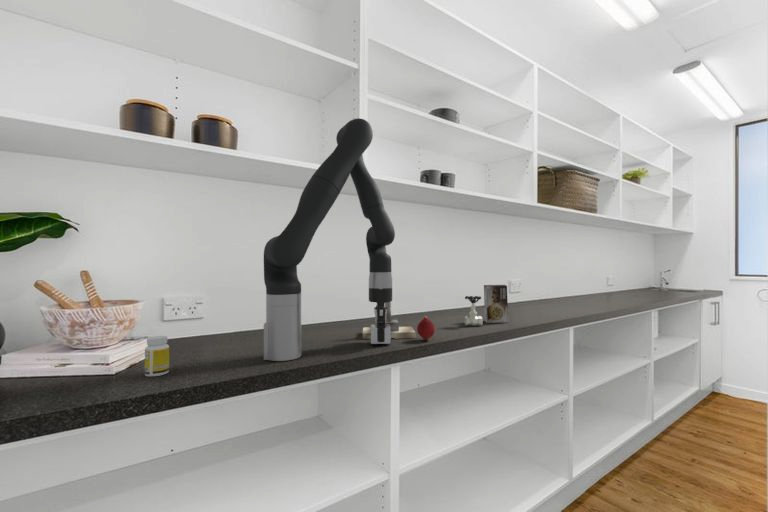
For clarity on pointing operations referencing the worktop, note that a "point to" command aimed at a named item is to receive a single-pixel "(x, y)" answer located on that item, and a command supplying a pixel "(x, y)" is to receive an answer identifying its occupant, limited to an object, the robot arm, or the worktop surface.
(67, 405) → the worktop surface
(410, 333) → the shaft stand
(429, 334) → the onion
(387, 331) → the block
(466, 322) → the valve
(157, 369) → the supplement bottle
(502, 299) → the coffee box
